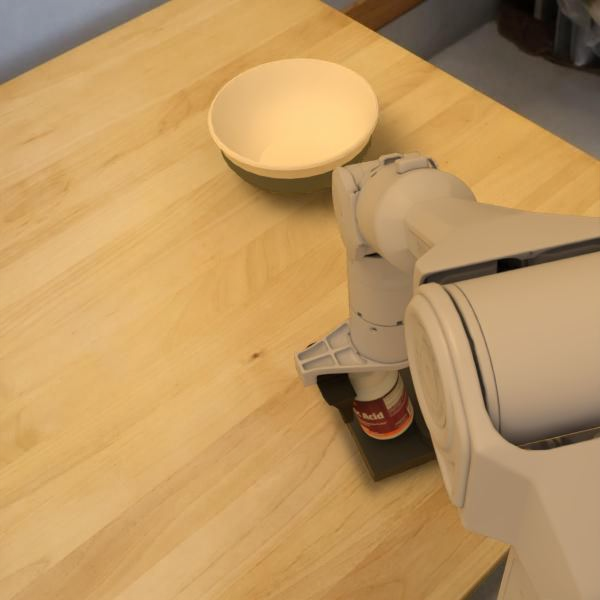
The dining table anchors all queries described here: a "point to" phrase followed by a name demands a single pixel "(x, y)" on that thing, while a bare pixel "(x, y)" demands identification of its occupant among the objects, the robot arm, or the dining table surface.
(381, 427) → the pill bottle
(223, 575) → the dining table surface
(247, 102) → the bowl
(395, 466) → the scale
